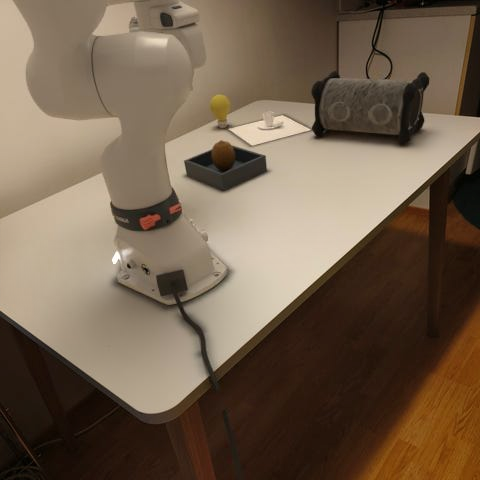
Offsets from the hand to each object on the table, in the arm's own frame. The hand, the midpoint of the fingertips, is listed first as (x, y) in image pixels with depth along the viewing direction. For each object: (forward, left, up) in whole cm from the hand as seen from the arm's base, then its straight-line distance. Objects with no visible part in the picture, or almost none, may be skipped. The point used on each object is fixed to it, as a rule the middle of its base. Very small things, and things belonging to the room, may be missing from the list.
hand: (173, 89), depth 100 cm
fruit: (+2, -12, -23) cm, 26 cm away
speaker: (-11, -54, -24) cm, 60 cm away
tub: (+2, -12, -24) cm, 27 cm away
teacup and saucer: (+18, -42, -24) cm, 52 cm away
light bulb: (+34, -36, -24) cm, 55 cm away
